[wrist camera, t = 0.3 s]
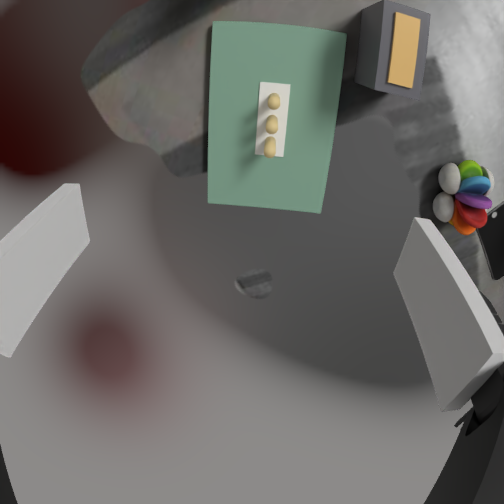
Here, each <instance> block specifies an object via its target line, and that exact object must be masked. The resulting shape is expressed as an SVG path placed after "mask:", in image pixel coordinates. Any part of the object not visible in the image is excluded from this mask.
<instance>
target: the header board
mask: <svg viewBox="0 0 504 504" xmlns="http://www.w3.org/2000/svg"><path fill="white" fill-rule="evenodd" d="M346 37H347V33H341V32H336V31H330V30H324V29H317V28H310V27H303V26H294V25H285V24H273V23H259V22H234V21H213V28H212V45H211V66H210V91H209V125H208V203H213V204H225V205H239V206H250V207H261V208H273V209H282V210H293V211H302V212H312V213H321V209H322V204H323V198H324V192H325V187H326V181H327V176H328V169H329V164H330V158H331V151H332V145H333V138H334V132H335V125H336V118H337V111H338V104H339V97H340V89H341V81H342V73H343V65H344V56H345V46H346Z"/></svg>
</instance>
